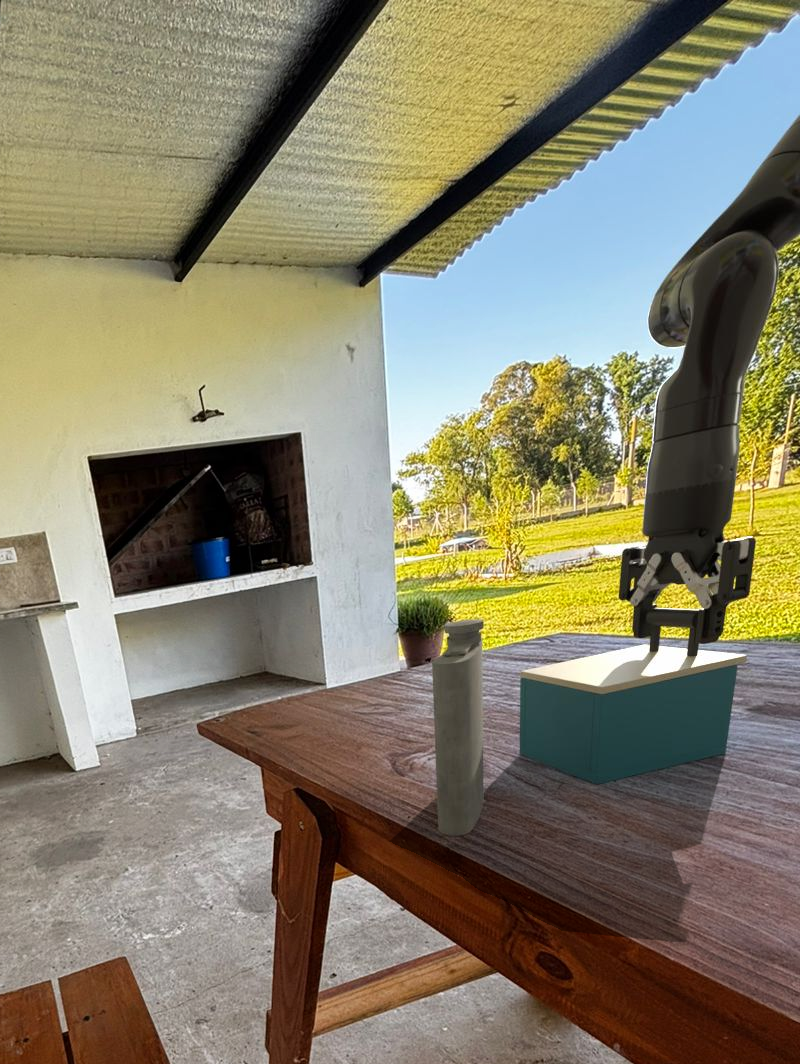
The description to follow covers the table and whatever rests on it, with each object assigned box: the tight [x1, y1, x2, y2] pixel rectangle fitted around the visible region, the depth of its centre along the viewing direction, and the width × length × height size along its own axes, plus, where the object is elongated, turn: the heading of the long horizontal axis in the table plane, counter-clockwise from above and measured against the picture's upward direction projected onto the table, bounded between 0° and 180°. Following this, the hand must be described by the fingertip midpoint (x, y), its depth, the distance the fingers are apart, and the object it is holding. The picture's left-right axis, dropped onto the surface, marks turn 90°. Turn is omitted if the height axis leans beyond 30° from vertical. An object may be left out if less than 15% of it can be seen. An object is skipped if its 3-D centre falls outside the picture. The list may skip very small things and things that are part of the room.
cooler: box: [519, 664, 739, 785], centre depth 72 cm, size 16×13×10 cm
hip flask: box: [431, 618, 485, 837], centre depth 64 cm, size 16×4×20 cm, turn 154°
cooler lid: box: [519, 607, 748, 694], centre depth 69 cm, size 17×13×6 cm
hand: (673, 639), depth 70 cm, fingers open, 7 cm apart
